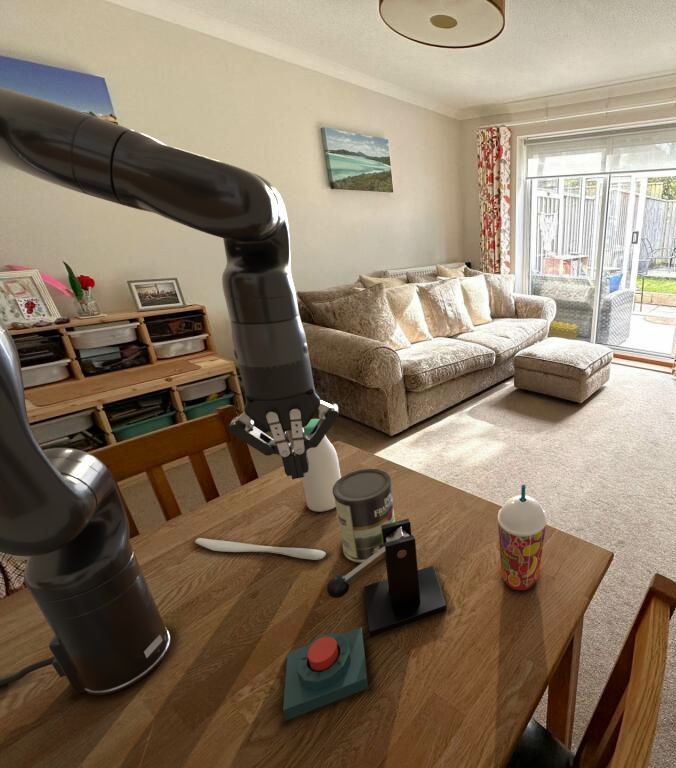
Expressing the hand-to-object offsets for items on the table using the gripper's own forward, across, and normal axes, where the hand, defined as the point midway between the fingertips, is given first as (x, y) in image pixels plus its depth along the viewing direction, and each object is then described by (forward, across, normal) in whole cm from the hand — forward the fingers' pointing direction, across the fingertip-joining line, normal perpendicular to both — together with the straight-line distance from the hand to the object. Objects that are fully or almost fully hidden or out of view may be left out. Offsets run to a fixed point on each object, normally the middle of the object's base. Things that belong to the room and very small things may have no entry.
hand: (298, 475), depth 55 cm
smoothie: (+27, -32, +5) cm, 42 cm away
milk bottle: (+27, 0, -31) cm, 41 cm away
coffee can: (+27, -8, -14) cm, 32 cm away
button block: (+27, 0, +10) cm, 29 cm away
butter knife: (+27, +12, -20) cm, 36 cm away
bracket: (+27, -12, +2) cm, 30 cm away
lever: (+18, -8, +2) cm, 20 cm away
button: (+23, 0, +10) cm, 25 cm away
